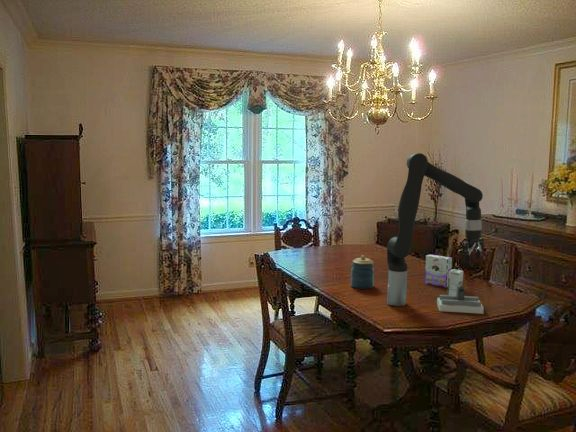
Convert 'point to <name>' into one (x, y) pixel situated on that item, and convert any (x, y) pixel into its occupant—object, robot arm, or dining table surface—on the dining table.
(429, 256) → the candy box
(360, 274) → the canister
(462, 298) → the breaker lever
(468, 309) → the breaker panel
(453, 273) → the syrup box
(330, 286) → the dining table surface
